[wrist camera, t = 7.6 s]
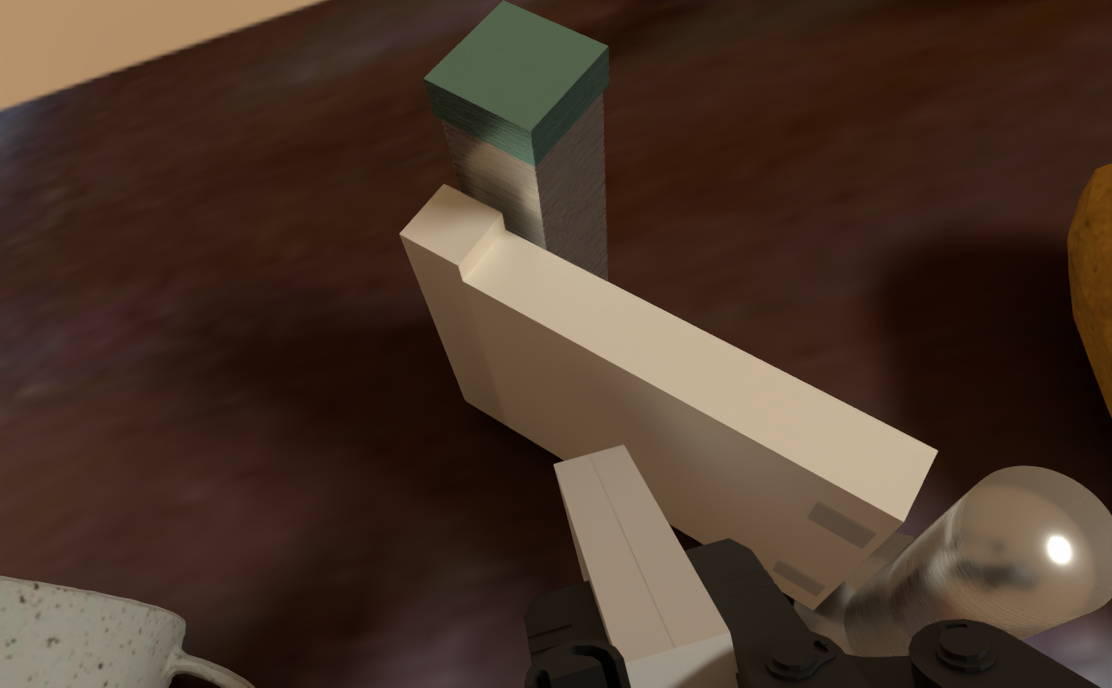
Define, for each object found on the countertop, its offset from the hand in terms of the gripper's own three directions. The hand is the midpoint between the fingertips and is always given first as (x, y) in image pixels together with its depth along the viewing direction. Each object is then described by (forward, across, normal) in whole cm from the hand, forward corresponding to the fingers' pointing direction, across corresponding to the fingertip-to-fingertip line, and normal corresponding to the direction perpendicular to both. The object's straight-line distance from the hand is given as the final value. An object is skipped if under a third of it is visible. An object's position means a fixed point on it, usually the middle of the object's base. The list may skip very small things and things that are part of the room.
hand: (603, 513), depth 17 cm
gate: (+6, +2, -2) cm, 7 cm away
